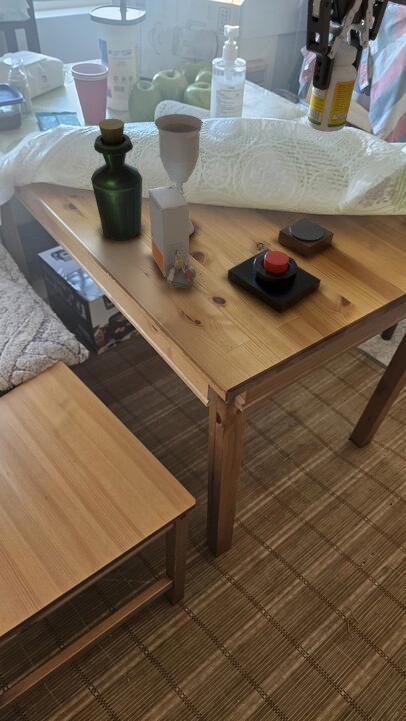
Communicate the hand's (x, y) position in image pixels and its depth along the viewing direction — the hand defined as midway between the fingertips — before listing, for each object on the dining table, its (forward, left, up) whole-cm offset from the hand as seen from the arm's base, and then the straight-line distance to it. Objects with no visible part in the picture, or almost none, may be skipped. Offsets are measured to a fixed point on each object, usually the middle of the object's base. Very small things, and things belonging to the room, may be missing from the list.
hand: (334, 82), depth 68 cm
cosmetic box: (+10, +20, -26) cm, 34 cm away
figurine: (+5, +22, -26) cm, 35 cm away
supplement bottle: (0, 0, -6) cm, 6 cm away
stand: (0, -1, -26) cm, 26 cm away
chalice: (+17, +12, -26) cm, 33 cm away
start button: (-4, +11, -22) cm, 25 cm away
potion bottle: (+23, +20, -26) cm, 40 cm away
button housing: (-4, +11, -25) cm, 28 cm away
